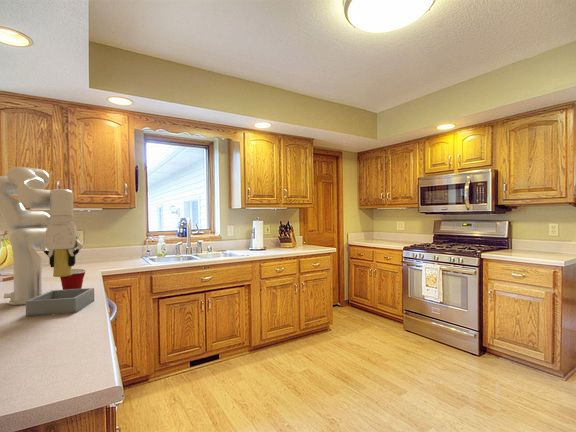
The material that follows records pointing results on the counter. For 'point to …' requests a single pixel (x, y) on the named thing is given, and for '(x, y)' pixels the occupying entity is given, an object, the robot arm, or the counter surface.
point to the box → (60, 302)
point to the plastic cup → (73, 279)
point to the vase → (61, 263)
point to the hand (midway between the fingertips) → (62, 266)
